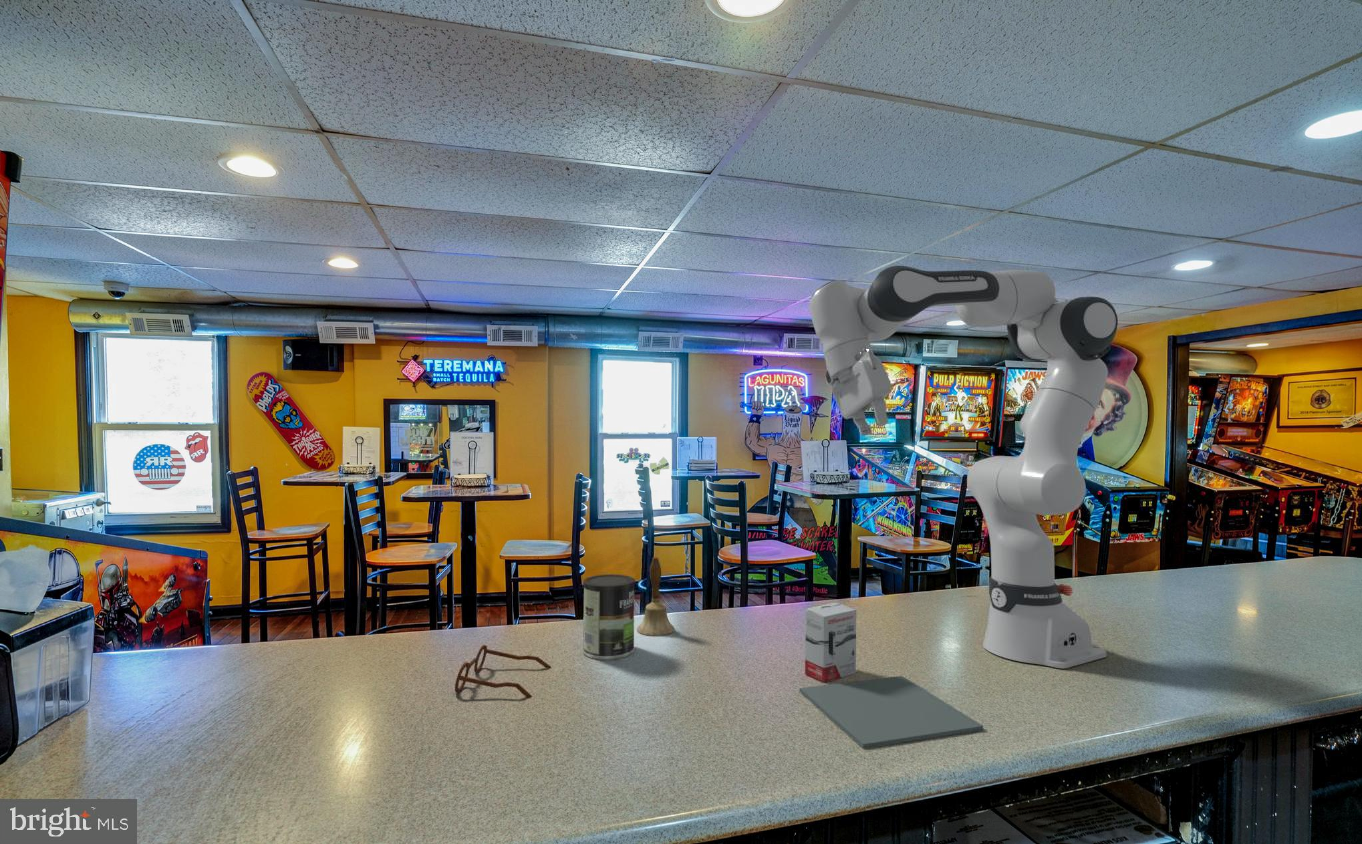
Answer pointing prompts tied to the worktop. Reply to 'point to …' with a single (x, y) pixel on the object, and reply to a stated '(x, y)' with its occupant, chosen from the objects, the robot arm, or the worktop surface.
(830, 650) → the ink box
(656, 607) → the hand bell
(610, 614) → the coffee can
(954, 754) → the worktop surface
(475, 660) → the glasses
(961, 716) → the rubber mat
